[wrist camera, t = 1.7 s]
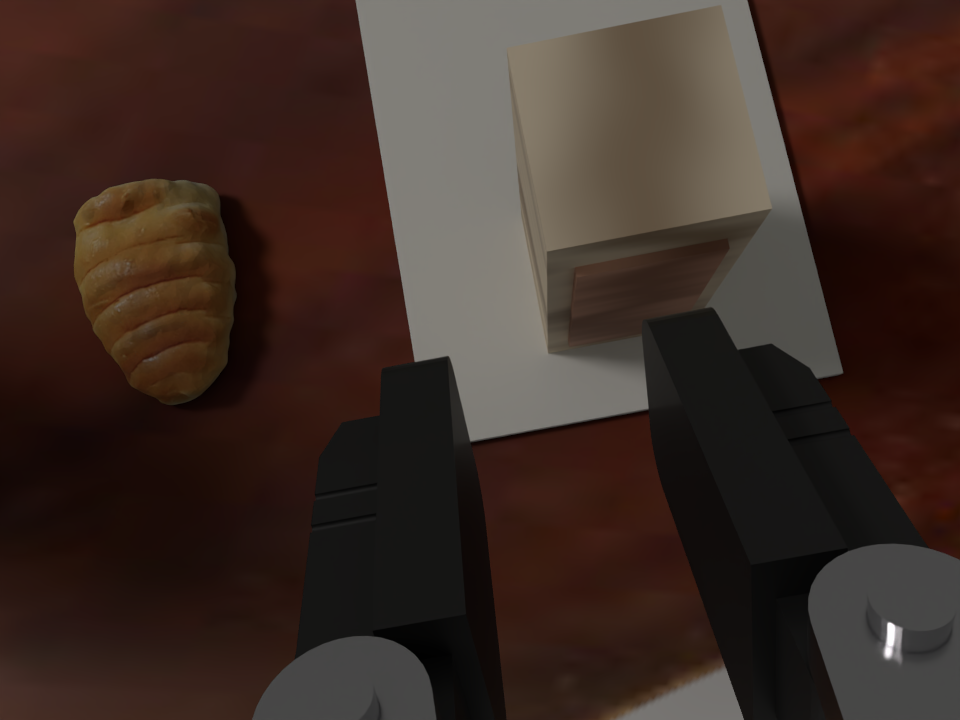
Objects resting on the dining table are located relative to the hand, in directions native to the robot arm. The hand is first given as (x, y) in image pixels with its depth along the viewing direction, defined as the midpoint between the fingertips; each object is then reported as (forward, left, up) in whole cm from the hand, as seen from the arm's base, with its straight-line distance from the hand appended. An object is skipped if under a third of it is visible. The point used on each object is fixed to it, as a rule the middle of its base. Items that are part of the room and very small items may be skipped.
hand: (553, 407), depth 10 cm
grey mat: (+4, +16, -28) cm, 32 cm away
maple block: (+4, +9, -27) cm, 29 cm away
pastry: (-14, +12, -28) cm, 34 cm away
